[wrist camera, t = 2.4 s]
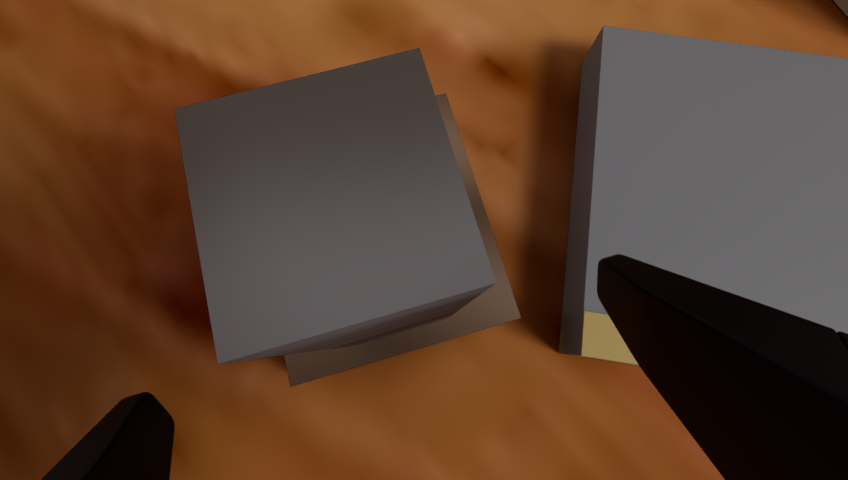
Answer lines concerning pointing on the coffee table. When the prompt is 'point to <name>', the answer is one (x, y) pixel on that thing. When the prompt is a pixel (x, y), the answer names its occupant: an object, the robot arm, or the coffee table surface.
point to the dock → (708, 177)
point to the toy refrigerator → (842, 5)
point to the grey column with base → (339, 219)
